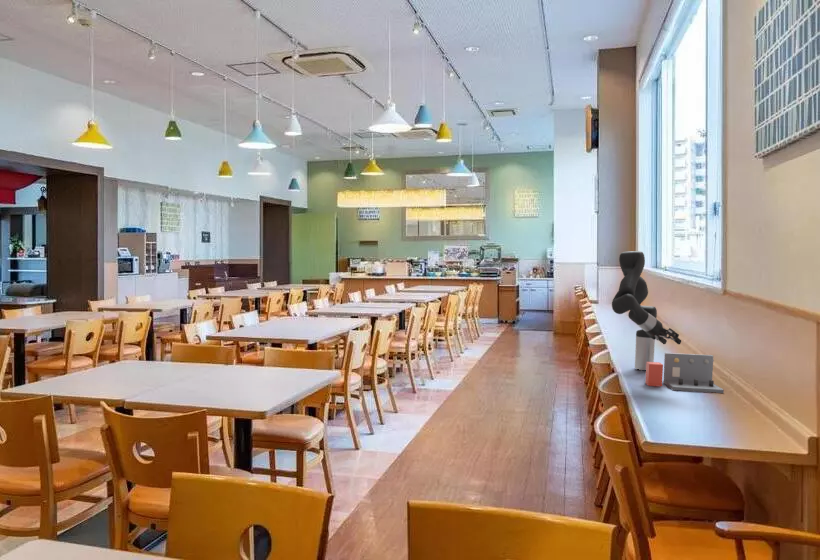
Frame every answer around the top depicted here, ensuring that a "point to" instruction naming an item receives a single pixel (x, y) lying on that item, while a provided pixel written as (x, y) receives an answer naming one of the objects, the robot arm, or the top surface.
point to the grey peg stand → (689, 372)
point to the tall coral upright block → (654, 373)
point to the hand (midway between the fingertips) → (672, 342)
